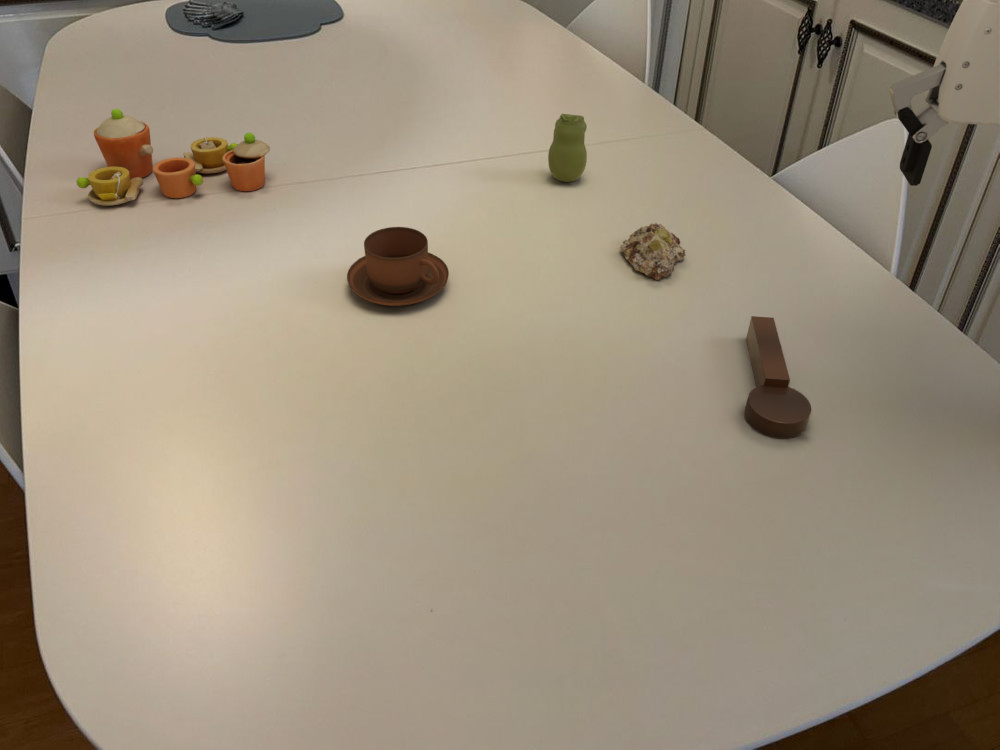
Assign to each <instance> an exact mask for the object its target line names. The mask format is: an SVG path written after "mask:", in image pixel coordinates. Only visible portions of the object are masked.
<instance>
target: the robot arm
mask: <svg viewBox="0 0 1000 750" xmlns="http://www.w3.org/2000/svg"><path fill="white" fill-rule="evenodd" d="M888 89H889V90H888V91H889V95H890V99H891V103H892V107H893V110H894V112H893V113H894V115H895V116H896V117H897V119H898V120H899V122H900V123H901V125H902V126H903V128H904V129H905V130H906V131H907V132H908V135H907V137H906V142H905V145H904V148H903V151H902V153H901V154H902V155H901V158H900V161H899V170H900V172H901V173H902V175H903V177H904V178H905V180H906V181H907V182H908V184H909V186H912V187H914V186H915V187H917V186H918V185H920V184H921V182H922V179H923V176H924V172H925V170H926V166H927V164H928V160H929V157H930V155H931V151H932V148H933V144H932V143H931V142H930V140H929V139H930V138H931V137H932V136H934V135H935V134H936V133H938V132H939V131H940V130H941V129H943V128H944V127H946V126H947V125H948V124H960V125H982V126H1000V0H962V2H961V3H960V5H959V7H958V9H957V11H956V13H955V15H954V17H953V19H952V22H951V24H950V26H949V28H948V30H947V32H946V35H945V36H944V39H943V41H942V44H941V46H940V49H939V51H938V53H937V56H936V58H935V62H934V64H933V67H930V68H928V69H925V70H923V71H921V72H918V73H916V74H913V75H911V76H909V77H906V78H904V79H901V80H899V81H896V82H894V83H892V84H891V85H890V86H889V88H888ZM923 92H924V101H925V103H927V104H926V105H925V106H924V107H922V109H920V110H919V111H918V112H916V113H915V112H914V110H913V107H912V100H913V98H914V97H915V96H916V95H919V94H921V93H923Z"/></svg>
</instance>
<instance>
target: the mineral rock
mask: <svg viewBox="0 0 1000 750" xmlns="http://www.w3.org/2000/svg"><path fill="white" fill-rule="evenodd" d="M619 249H620V250H621V251H622V254H624V258H625V260H627V262H628V263H629V264H630V265H631V267H632V268H633V269H634V271H636V272H640V273H642V274H645V276H647V277H648V278H649V277H651V278H653V279H654V280H655V281H658V280H660V279H661V278H667V277H669V276H672V274H673V272H674V270H675V265H676V263H677V262H682V261H683V259H684V258H685V257H686V249H684V248H683V247H682V246H681V239H680V238H679V237H677V236H676V234H674V233H673V232H671V231H670V230H668V229H667V228H666V227H665V226H664V225H663V224H662V223H657V222H655V223H650V224H649V225H645V226H640V228H639V229H637V230H635V231H634V232H633V233H631V234H629V237H628V239H624V240H623V241H622V244H621V246H619Z"/></svg>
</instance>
